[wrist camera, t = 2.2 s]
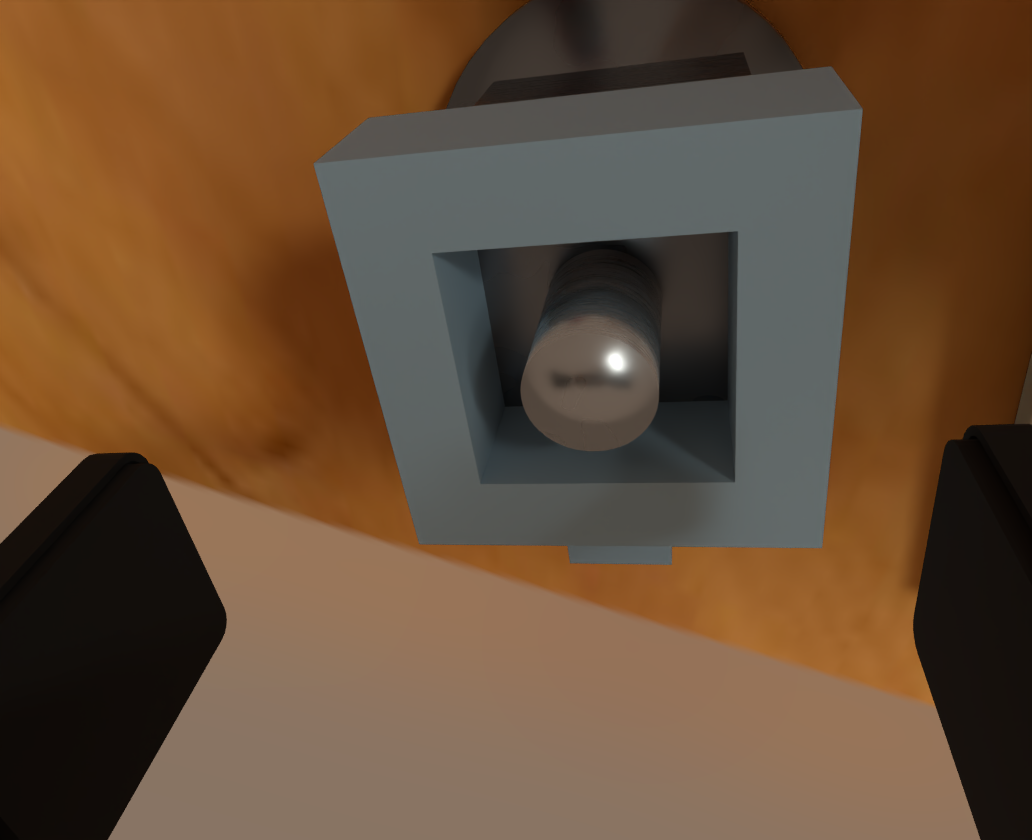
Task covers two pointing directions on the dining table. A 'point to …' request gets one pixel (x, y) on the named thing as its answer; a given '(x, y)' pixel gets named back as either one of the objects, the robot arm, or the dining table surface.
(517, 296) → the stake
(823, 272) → the blue-grey rectangular frame
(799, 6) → the dining table surface
